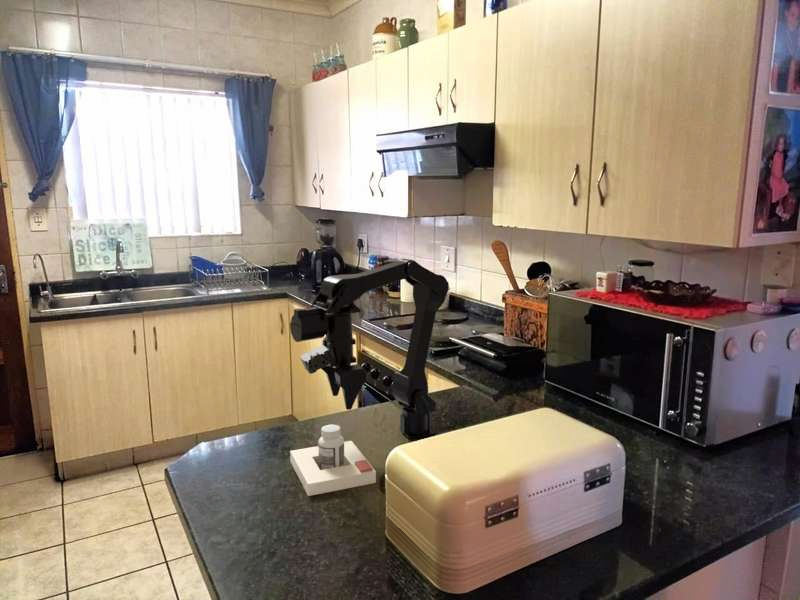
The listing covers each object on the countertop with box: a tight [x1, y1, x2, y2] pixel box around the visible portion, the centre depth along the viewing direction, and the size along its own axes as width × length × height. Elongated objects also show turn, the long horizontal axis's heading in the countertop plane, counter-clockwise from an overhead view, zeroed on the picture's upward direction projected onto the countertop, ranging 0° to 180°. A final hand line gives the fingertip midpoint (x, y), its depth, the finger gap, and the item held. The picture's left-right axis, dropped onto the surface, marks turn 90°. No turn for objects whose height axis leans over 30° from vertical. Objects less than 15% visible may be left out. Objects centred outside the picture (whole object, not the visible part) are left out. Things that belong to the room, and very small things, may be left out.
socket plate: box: [289, 440, 377, 497], centre depth 122 cm, size 14×16×3 cm
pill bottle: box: [317, 424, 345, 470], centre depth 122 cm, size 5×5×10 cm
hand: (341, 402), depth 129 cm, fingers open, 9 cm apart
